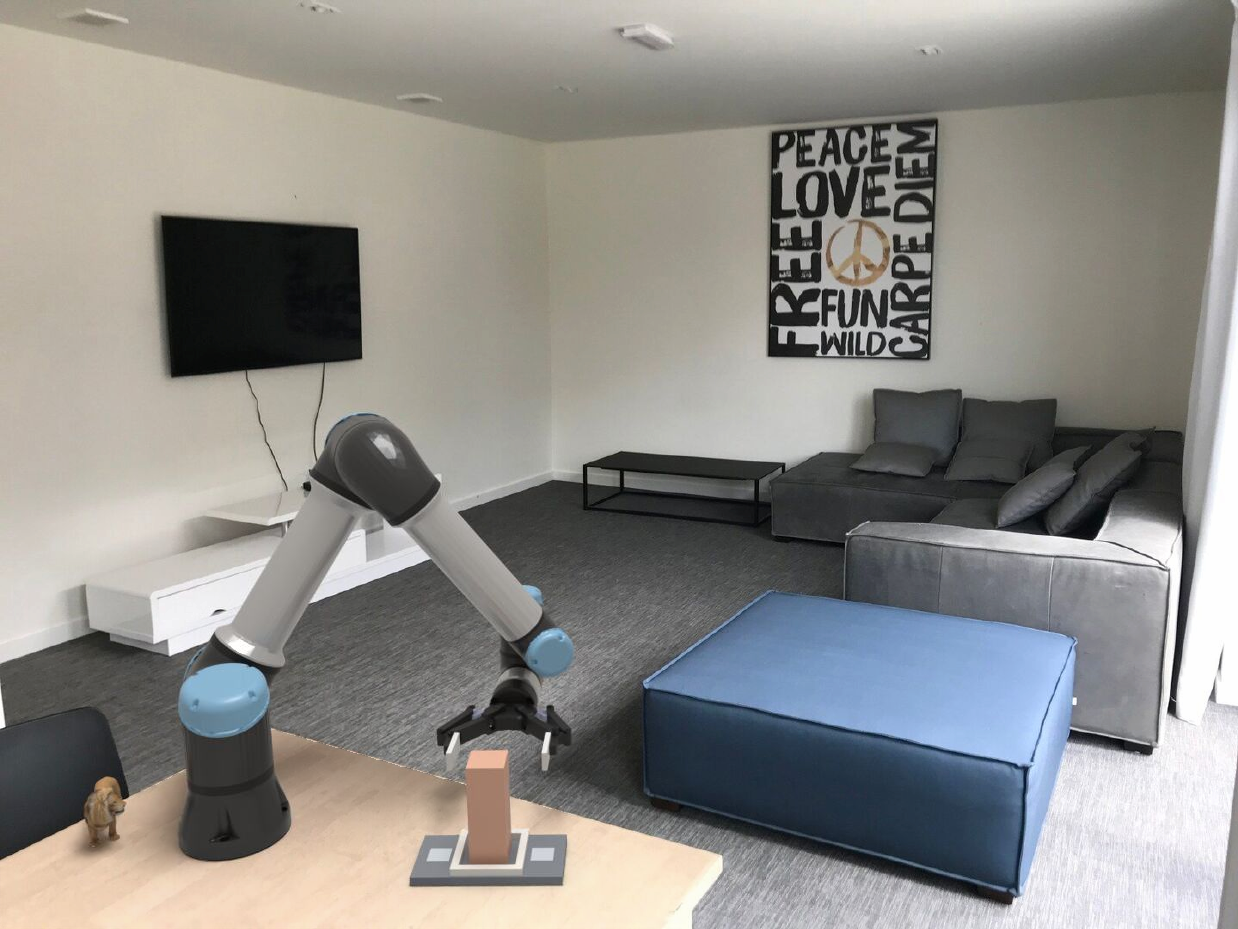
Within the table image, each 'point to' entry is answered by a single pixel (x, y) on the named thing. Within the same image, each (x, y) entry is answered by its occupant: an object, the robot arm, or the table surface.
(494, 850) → the terracotta pillar
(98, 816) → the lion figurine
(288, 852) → the table surface
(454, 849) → the base board
